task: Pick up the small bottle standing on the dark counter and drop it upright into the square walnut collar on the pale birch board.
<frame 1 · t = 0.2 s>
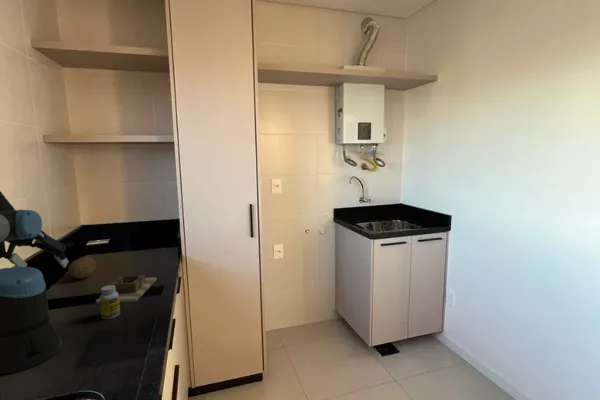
hand: (45, 266, 112), 15 cm above the worktop, tool tilted 35°, fingers open, 13 cm apart
collar board: (128, 290, 127), on the worktop
potato: (83, 277, 142), on the worktop
supplement bottle: (111, 316, 107), on the worktop
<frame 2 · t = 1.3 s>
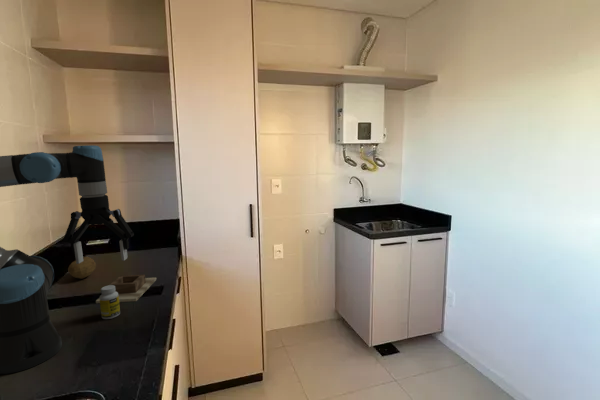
hand: (102, 260, 105), 19 cm above the worktop, tool pointing down, fingers open, 13 cm apart
nothing on the worktop moved.
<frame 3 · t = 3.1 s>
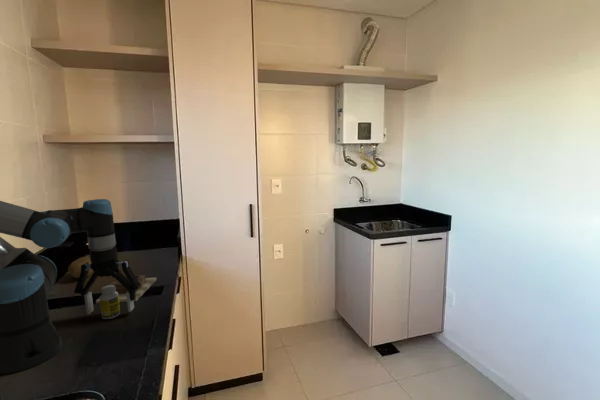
hand: (110, 311, 107), 2 cm above the worktop, tool pointing down, fingers open, 12 cm apart
nothing on the worktop moved.
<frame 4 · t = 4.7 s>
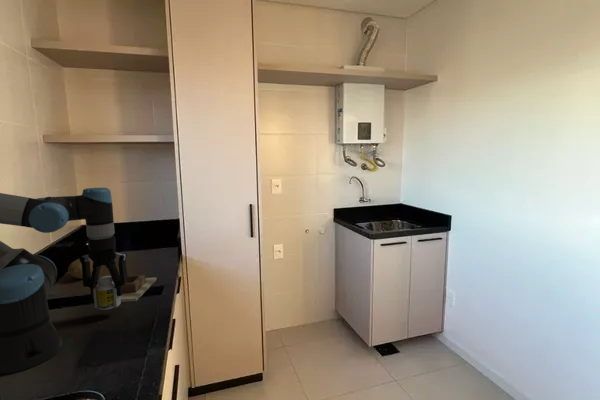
hand: (108, 305, 106), 4 cm above the worktop, tool pointing down, fingers closed on supplement bottle, 5 cm apart
supplement bottle: (108, 307, 106), point 3 cm above the worktop, touching gripper
everything else where it was.
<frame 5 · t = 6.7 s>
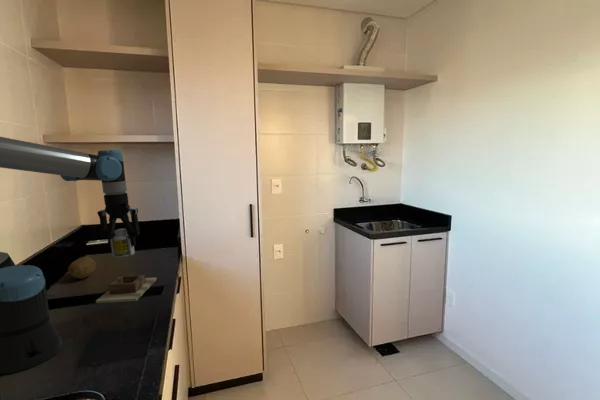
hand: (123, 254, 121), 16 cm above the worktop, tool pointing down, fingers closed on supplement bottle, 5 cm apart
supplement bottle: (123, 255, 121), point 15 cm above the worktop, touching gripper
everything else where it was.
when the fingers open (5 cm above the worktop, at t = 9.1 s): supplement bottle drops 4 cm, resting on collar board.
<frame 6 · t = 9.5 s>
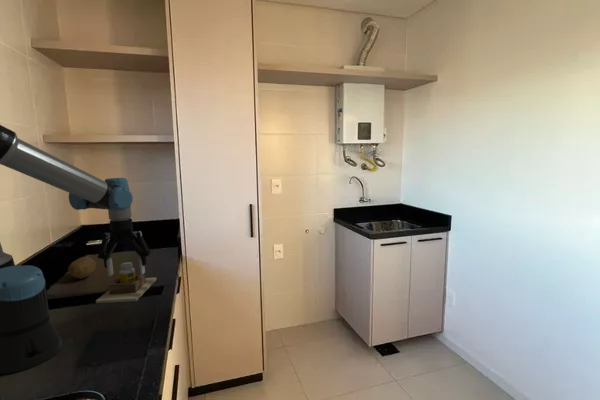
hand: (126, 274, 126), 7 cm above the worktop, tool pointing down, fingers open, 11 cm apart
supplement bottle: (128, 288, 126), point 1 cm above the worktop, touching collar board
everything else where it was.
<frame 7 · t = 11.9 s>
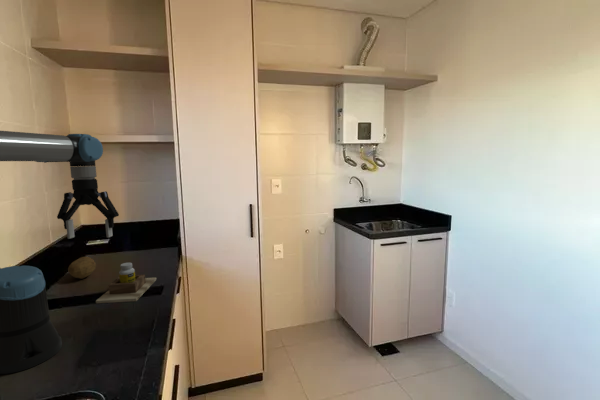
hand: (90, 237, 118), 23 cm above the worktop, tool pointing down, fingers open, 13 cm apart
nothing on the worktop moved.
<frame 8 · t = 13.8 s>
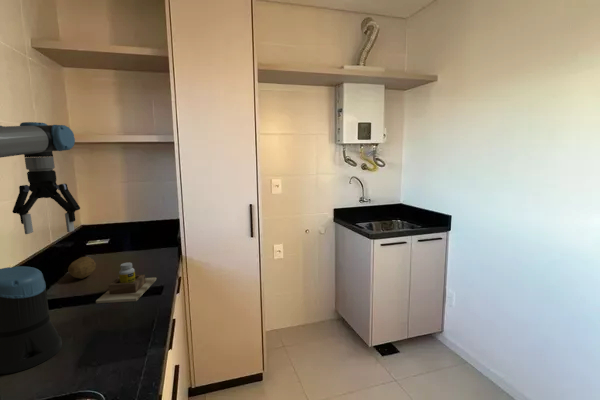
hand: (50, 232, 111), 27 cm above the worktop, tool pointing down, fingers open, 13 cm apart
nothing on the worktop moved.
at the end: supplement bottle 0.1 cm off-centre on the collar board, point 0.8 cm above the collar board's base; supplement bottle tilted 0°; the gripper is holding nothing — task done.
